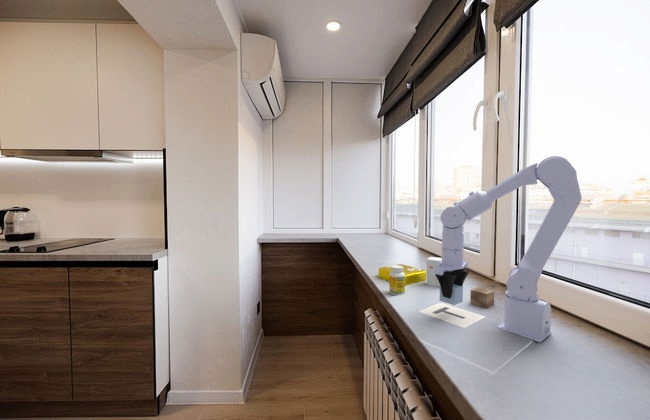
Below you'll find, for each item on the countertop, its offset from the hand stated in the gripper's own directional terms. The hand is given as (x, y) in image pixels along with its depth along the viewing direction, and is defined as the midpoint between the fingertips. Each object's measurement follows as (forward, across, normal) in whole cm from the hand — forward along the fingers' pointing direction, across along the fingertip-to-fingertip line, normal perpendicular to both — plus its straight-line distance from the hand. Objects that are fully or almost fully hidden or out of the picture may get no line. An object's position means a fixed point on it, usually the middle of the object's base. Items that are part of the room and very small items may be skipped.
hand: (451, 295), depth 85 cm
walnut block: (+6, -15, +2) cm, 16 cm away
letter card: (+6, 0, 0) cm, 6 cm away
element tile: (+6, -20, -33) cm, 39 cm away
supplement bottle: (+6, -3, -22) cm, 23 cm away
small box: (+6, -23, -18) cm, 30 cm away
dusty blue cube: (+2, 0, 0) cm, 2 cm away
